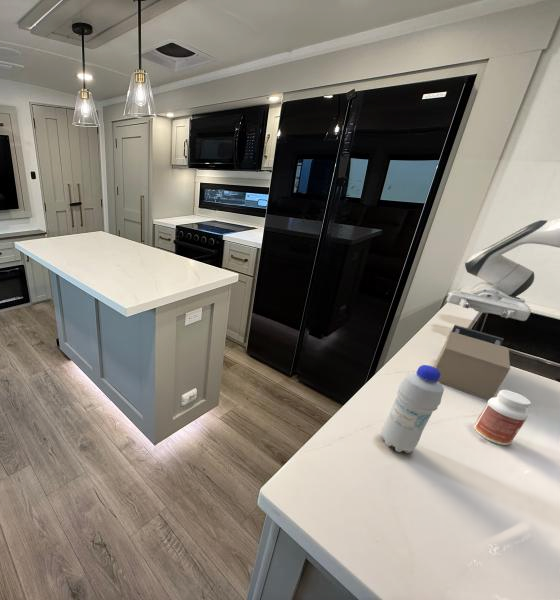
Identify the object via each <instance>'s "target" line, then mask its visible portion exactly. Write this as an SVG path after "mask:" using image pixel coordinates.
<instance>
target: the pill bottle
mask: <svg viewBox="0 0 560 600" xmlns="http://www.w3.org/2000/svg"><path fill="white" fill-rule="evenodd" d="M496 394H497V395H496V396H493V398H491V399H489V400H488V401H487V402H486V404H485V405H484V407H483V409H482V410H481V412H480V414H479V415H478V417H477V418H476V421H475V422H474V424H473V428H474V431H476V433H478V434H479V435H480V436H481V437H482V438H484V439H486V440H487V441H489V442H492V443H493V444H494V443H495V444H498V445H504V446H506V445H510V444H511V443H512V442H513V441H514V440H515V437H516V435H517V434H518V433H519V432H520V430H521V429H522V427H523V426H524V424H525V423H526V421H527V420H528V418H529V412H528V410H527V409H529V408H530V406H531V402H532V401H530V399H528V398H527V397H525V395H522V394H520V393H518V392H515V391H512V390H507V389H501V390H499V392H498V393H496Z"/></svg>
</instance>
